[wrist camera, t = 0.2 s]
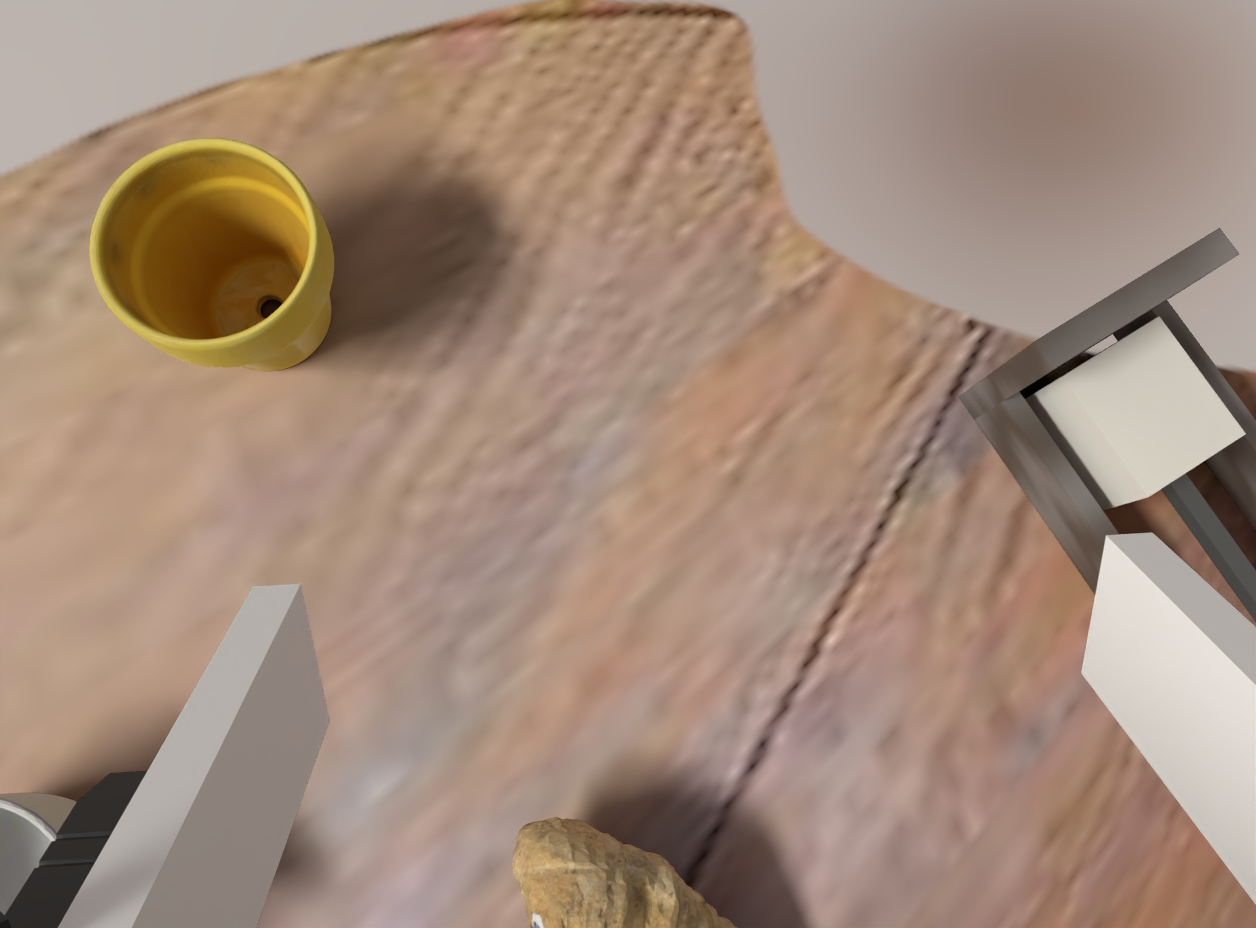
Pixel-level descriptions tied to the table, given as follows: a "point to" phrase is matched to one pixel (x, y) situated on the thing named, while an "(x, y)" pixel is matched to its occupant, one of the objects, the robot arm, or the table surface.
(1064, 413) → the push rod with block
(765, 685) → the table surface
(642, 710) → the table surface
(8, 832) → the teacup
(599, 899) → the seashell
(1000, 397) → the shelf lane
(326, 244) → the plant pot
